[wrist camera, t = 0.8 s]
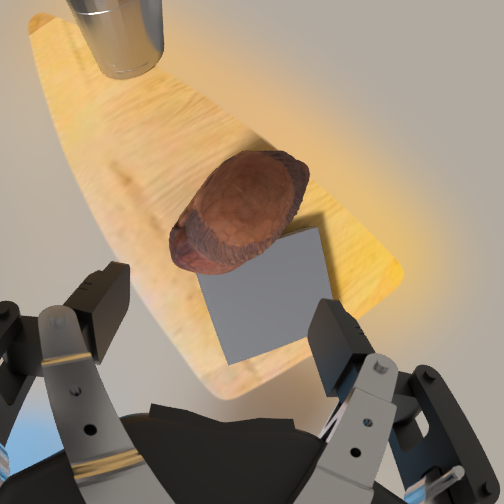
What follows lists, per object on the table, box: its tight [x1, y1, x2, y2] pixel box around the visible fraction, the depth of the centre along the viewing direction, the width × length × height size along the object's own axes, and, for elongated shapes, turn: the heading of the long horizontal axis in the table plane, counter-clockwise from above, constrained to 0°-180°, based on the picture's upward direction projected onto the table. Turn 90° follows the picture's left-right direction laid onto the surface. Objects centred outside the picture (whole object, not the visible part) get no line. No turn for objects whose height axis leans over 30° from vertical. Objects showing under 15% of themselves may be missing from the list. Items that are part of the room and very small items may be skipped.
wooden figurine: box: [169, 151, 310, 275], centre depth 24 cm, size 12×6×18 cm, turn 139°
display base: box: [196, 227, 333, 365], centre depth 34 cm, size 13×15×2 cm
